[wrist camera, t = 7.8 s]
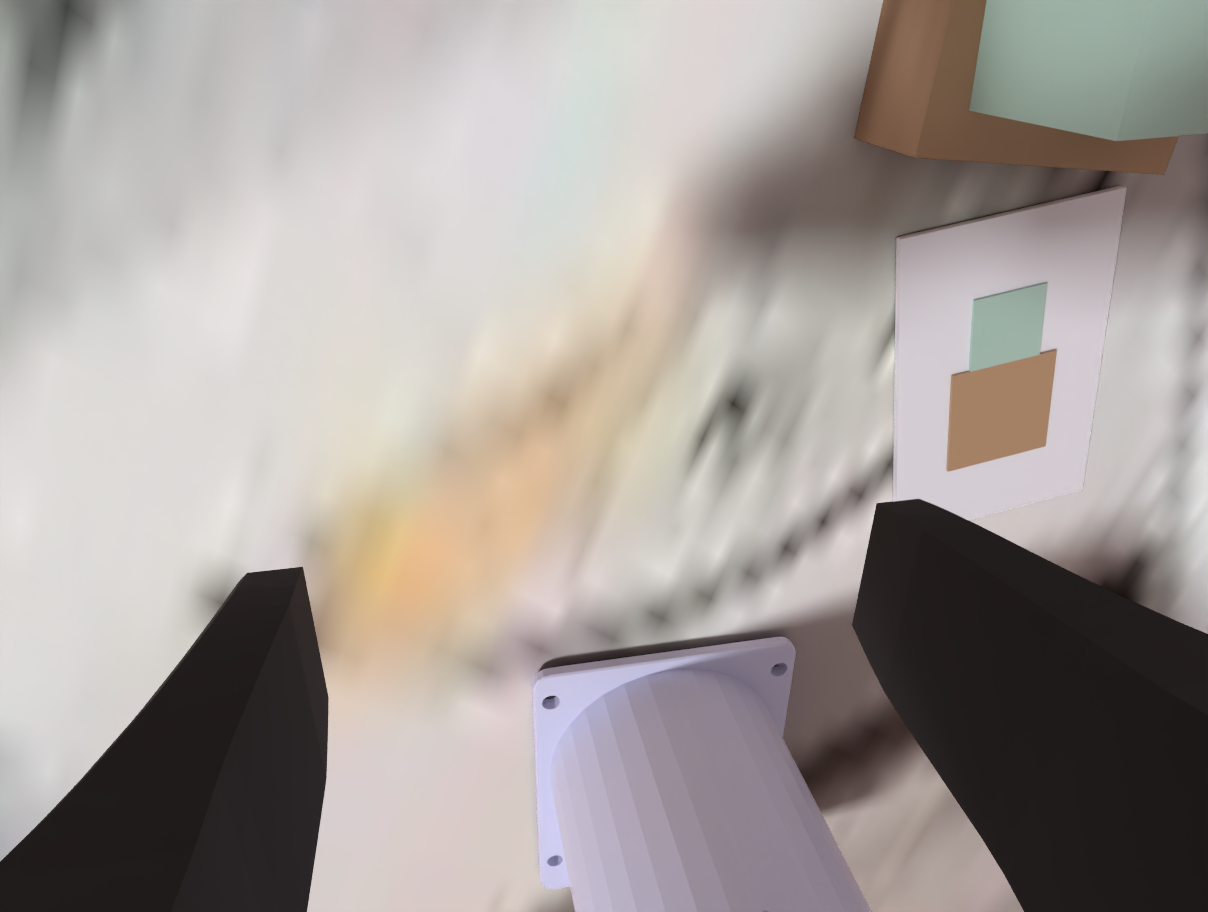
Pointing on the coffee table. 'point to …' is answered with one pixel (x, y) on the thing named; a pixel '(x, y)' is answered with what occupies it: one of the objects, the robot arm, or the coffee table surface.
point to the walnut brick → (967, 100)
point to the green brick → (1096, 66)
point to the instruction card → (1002, 353)
